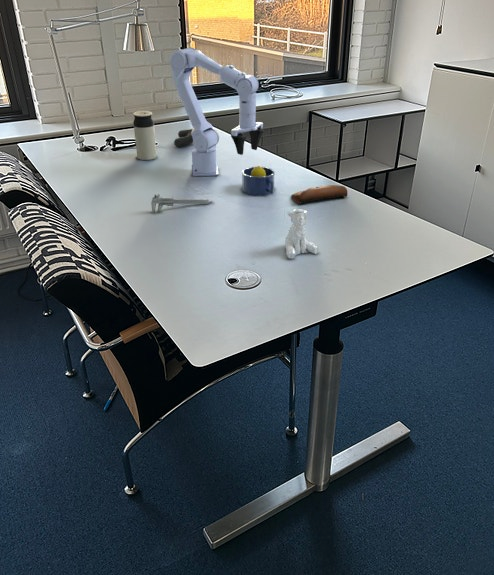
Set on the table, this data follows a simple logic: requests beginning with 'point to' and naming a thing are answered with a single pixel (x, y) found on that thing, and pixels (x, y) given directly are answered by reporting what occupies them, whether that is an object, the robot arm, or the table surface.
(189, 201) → the caliper
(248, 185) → the blue mug
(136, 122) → the travel mug
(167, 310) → the table surface
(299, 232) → the sitting furry creature
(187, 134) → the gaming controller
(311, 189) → the sunglasses case
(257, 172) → the lemon
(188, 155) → the table surface
